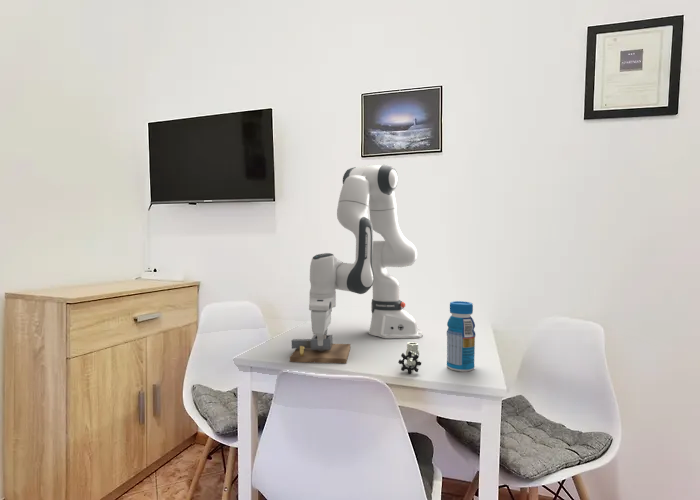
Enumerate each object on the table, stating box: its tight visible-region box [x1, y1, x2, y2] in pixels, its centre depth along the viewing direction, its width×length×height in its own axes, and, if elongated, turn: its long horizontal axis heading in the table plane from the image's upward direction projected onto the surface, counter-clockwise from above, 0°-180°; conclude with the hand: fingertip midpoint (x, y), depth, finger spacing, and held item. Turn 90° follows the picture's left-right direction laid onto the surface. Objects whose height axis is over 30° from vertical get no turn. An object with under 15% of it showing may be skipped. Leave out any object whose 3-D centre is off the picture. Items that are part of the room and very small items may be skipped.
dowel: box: [300, 346, 304, 356], centre depth 126 cm, size 1×1×4 cm
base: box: [289, 335, 351, 364], centre depth 133 cm, size 18×18×6 cm
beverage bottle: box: [446, 300, 476, 373], centre depth 119 cm, size 8×8×20 cm
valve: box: [397, 341, 422, 375], centre depth 120 cm, size 7×7×12 cm
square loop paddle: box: [291, 334, 334, 350], centre depth 133 cm, size 13×6×4 cm, turn 86°
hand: (322, 342), depth 133 cm, fingers closed on square loop paddle, 6 cm apart
